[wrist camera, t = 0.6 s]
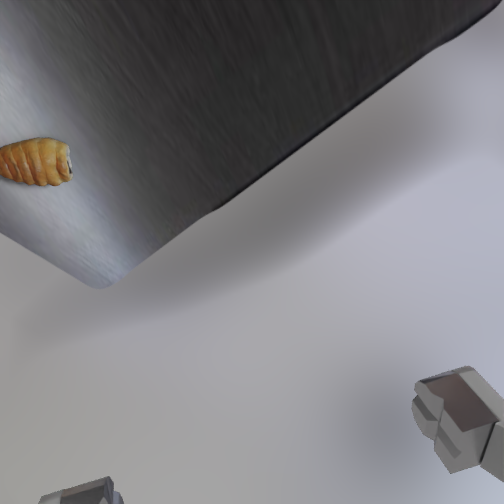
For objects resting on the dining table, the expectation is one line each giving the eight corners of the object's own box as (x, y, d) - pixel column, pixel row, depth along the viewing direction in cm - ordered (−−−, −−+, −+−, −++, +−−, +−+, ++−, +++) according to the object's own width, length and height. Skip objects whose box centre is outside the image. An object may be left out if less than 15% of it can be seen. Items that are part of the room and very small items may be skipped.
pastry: (3, 179, 56) (0, 197, 53) (-14, 136, 51) (-18, 153, 49) (76, 174, 59) (76, 191, 56) (66, 133, 54) (66, 148, 51)
